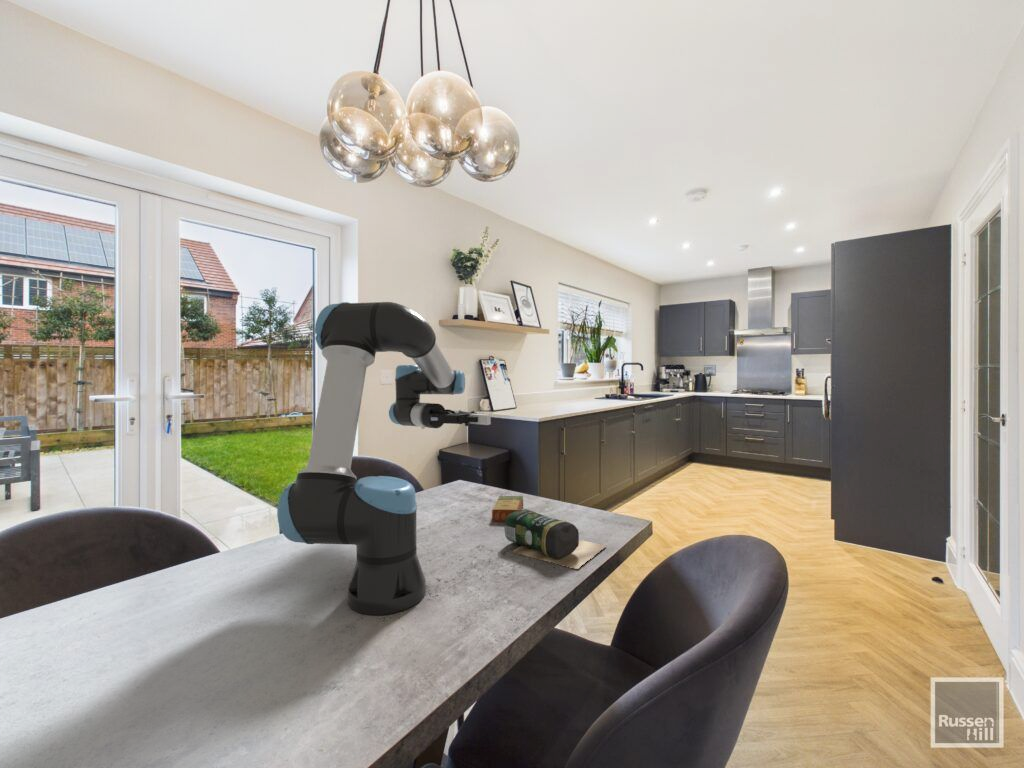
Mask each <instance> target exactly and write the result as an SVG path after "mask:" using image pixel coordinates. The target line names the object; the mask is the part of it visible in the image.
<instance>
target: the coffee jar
mask: <svg viewBox="0 0 1024 768" xmlns="http://www.w3.org/2000/svg"><path fill="white" fill-rule="evenodd" d="M579 533H580V532H579V529H578V528H577V526H575V524H574V523H572V522H571V523H570V522H569V521H566V520H561V519H557V518H553V517H549V516H546V515H543V514H540V513H539V512H535V511H533V510H530V509H526V508H525V509H524V508H523V510H518V511H515V512H513V513H511V514H509V515H508V516H507V519H506V522H504V535H505V538H506V539H507V540H508V541H509V542H512V543H514V544H518V545H520V546H522V545H523V546H526V547H529V548H532V549H535V550H538V551H540V552H542V553H544V554H545V555H547V556H549V557H552V558H556V559H560V558H563V557H565V556H567V555H569V554H571V553H572V552H574V550H575V549H576V548H577V547H578V545H579V540H580V537H579V535H580V534H579Z"/></svg>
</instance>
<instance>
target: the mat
mask: <svg viewBox="0 0 1024 768" xmlns="http://www.w3.org/2000/svg"><path fill="white" fill-rule="evenodd" d="M605 547H606V548H607V545H604V544H599V543H594V542H591V541H587V540H582V539H579V545H578V547H577V548H576V549H575V550H574V552H572V553H571V554H569V555H567V556H565V557H563V558H560V559H556V558H552V557H549V556H547V555H545V554H544V553H542V552H540V551H538V550H535V549H532V548H529V547H526V546H523V545H520V546H519V547H517V548H515V549H514V550H512V553H513V554H517V553H518V554H517V555H520V554H522V555H521V556H524V555H525V557H529V558H532V559H536V560H539V559H540V560H539V561H542V560H544V561H543V562H546V561H549V562H548V563H550V562H553V563H556V564H555V565H557V564H560V565H564V566H568V567H572V568H577V569H578V568H580V567H581V566H582V565H583V564H584V563H586V562H587V561H588V560H589V559H591V558H592V557H593V556H595V555H596V554H597V553H599V552H600V551H601V550H603V549H604V548H605ZM606 548H605V549H606ZM605 549H604V550H605ZM604 550H603V551H604ZM601 552H602V551H601ZM601 552H600V553H601ZM600 553H599V554H600ZM596 556H597V555H596ZM596 556H595V557H596ZM591 560H592V559H591ZM553 563H552V564H553ZM586 564H587V563H586ZM560 565H559V566H560ZM564 566H563V567H564ZM568 567H567V568H568ZM581 568H582V567H581ZM581 568H580V569H581Z"/></svg>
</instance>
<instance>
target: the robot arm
mask: <svg viewBox="0 0 1024 768" xmlns="http://www.w3.org/2000/svg"><path fill="white" fill-rule="evenodd" d="M314 326H315V327H314V334H316V336H315V343H316V345H317V346H318V348H319V349H320V350H321V355H322V356H323V357H324V360H326V367H325V373H324V378H323V381H322V388H321V393H320V397H319V402H318V403H319V404H318V407H317V414H316V418H315V422H314V423H315V424H314V428H313V435H312V438H311V439H312V440H311V444H310V449H309V455H308V459H307V465H306V466H305V467H304V468H301V470H299V471H298V472H297V475H296V480H295V482H293V483H292V482H291V484H288V485H287V486H285V488H284V489H283V491H282V492H281V493H280V496H279V498H278V502H277V503H278V504H277V510H276V513H277V514H276V516H277V522H278V526H279V528H280V530H281V533H282V534H283V536H284V537H285V538H286V539H287V540H289V541H291V542H295V543H300V544H302V543H303V544H306V545H317V544H320V545H323V544H324V545H353V546H354V545H355V546H356V548H355V549H356V562H355V566H354V569H353V572H352V576H351V579H350V582H349V585H348V590H347V605H348V606H349V607H350V608H351V610H353V611H355V612H357V613H360V614H363V615H369V616H370V615H371V616H381V615H382V616H384V615H389V614H394V613H398V612H402V611H405V610H408V609H410V608H412V607H414V606H415V605H417V604H418V603H420V601H422V600H423V599H424V598H425V596H426V593H427V587H426V584H427V582H426V577H425V575H424V572H423V569H422V566H421V563H420V559H419V557H418V554H417V550H418V549H417V548H418V547H417V509H418V505H417V501H416V499H417V498H416V490H415V486H413V484H412V483H410V482H409V481H408V480H405V479H402V478H401V477H395V476H387V475H378V476H373V475H372V476H371V475H370V476H365V477H361V478H359V479H358V480H357V476H356V474H354V472H353V471H352V461H353V456H354V455H353V454H354V451H355V450H354V448H355V442H356V438H357V430H358V423H359V417H360V411H361V406H362V405H361V404H362V397H363V392H364V386H365V380H366V373H367V368H368V367H369V366H372V365H373V364H374V362H375V358H376V354H377V353H379V352H380V353H385V352H386V353H387V352H391V353H392V352H394V353H395V352H396V353H401V354H403V355H404V356H406V357H407V358H410V359H412V361H414V363H415V364H411V365H410V364H399V365H397V366H396V367H395V378H394V381H395V401H394V402H393V403H391V405H390V408H389V409H388V417H389V420H390V421H391V422H392V423H394V424H396V425H400V426H407V427H419V428H420V427H421V429H422V430H424V429H425V428H429V429H439V428H441V427H443V426H444V424H447V425H448V424H449V425H450V424H451V425H453V424H454V425H462V424H463V425H464V426H465V427H469V426H470V425H469V424H471V425H472V424H473V425H483V426H490V425H492V423H491V419H492V417H491V414H486V413H477V412H475V411H474V410H472V411H463V410H452V409H445V407H444V406H443V405H442V404H441V403H434V402H433V403H432V402H431V403H430V402H420V401H421V395H451V396H453V395H462V394H463V393H464V391H465V389H466V376H465V373H464V371H463V370H457V369H455V370H453V368H452V367H451V365H450V364H449V362H448V360H447V359H446V357H445V355H444V353H443V352H442V350H441V348H440V347H439V345H438V344H437V342H436V341H437V336H436V333H435V330H434V329H433V328H432V326H431V325H430V323H429V322H428V321H427V320H426V319H425V318H424V317H422V315H420V314H419V313H417V312H416V311H415V310H413V309H411V308H409V307H407V306H405V305H403V304H399V303H397V302H393V301H382V302H380V301H378V302H373V301H372V302H349V301H348V302H347V301H346V302H345V301H343V302H339V303H331V304H328V305H326V306H325V307H323V309H321V310H320V312H319V314H318V316H317V318H316V321H315V325H314Z"/></svg>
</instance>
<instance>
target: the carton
mask: <svg viewBox="0 0 1024 768" xmlns="http://www.w3.org/2000/svg"><path fill="white" fill-rule="evenodd" d="M523 506H524V496H523V495H499V496H498V497H497V500H496V502H495V504H494V506H493V508H492V509H491V516H492V518H491V520H492V521H496V522H495V523H505V522H506V519H507V516H508V515H509V514H511V513H513V512H515V511H518V510H522V509H524V507H523ZM492 521H491V522H492Z"/></svg>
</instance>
